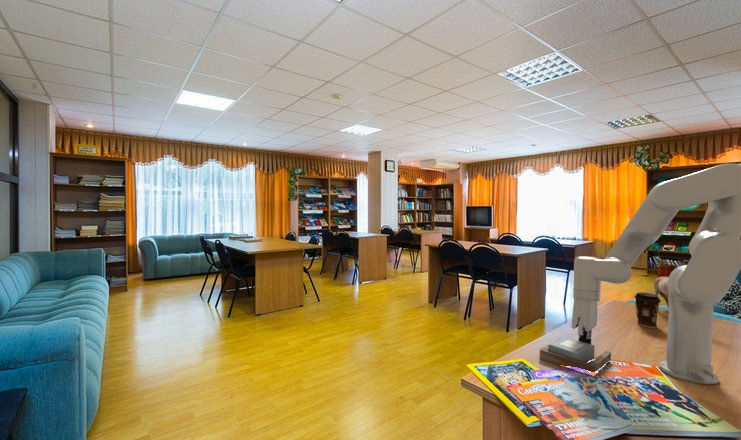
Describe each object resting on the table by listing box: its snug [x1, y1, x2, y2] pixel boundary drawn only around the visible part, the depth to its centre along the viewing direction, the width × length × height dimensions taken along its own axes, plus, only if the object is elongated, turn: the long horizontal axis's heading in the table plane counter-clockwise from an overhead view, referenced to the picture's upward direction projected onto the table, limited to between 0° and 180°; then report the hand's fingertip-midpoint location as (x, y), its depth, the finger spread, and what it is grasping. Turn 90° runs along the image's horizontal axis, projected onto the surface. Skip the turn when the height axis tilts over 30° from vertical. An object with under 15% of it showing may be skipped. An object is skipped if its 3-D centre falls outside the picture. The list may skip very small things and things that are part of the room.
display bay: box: [539, 337, 612, 372], centre depth 108 cm, size 16×15×3 cm
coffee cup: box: [634, 291, 661, 329], centre depth 143 cm, size 9×8×13 cm
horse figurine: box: [653, 276, 669, 313], centre depth 156 cm, size 31×8×21 cm, turn 154°
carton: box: [548, 336, 596, 362], centre depth 109 cm, size 11×9×5 cm
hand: (584, 349), depth 114 cm, fingers closed
